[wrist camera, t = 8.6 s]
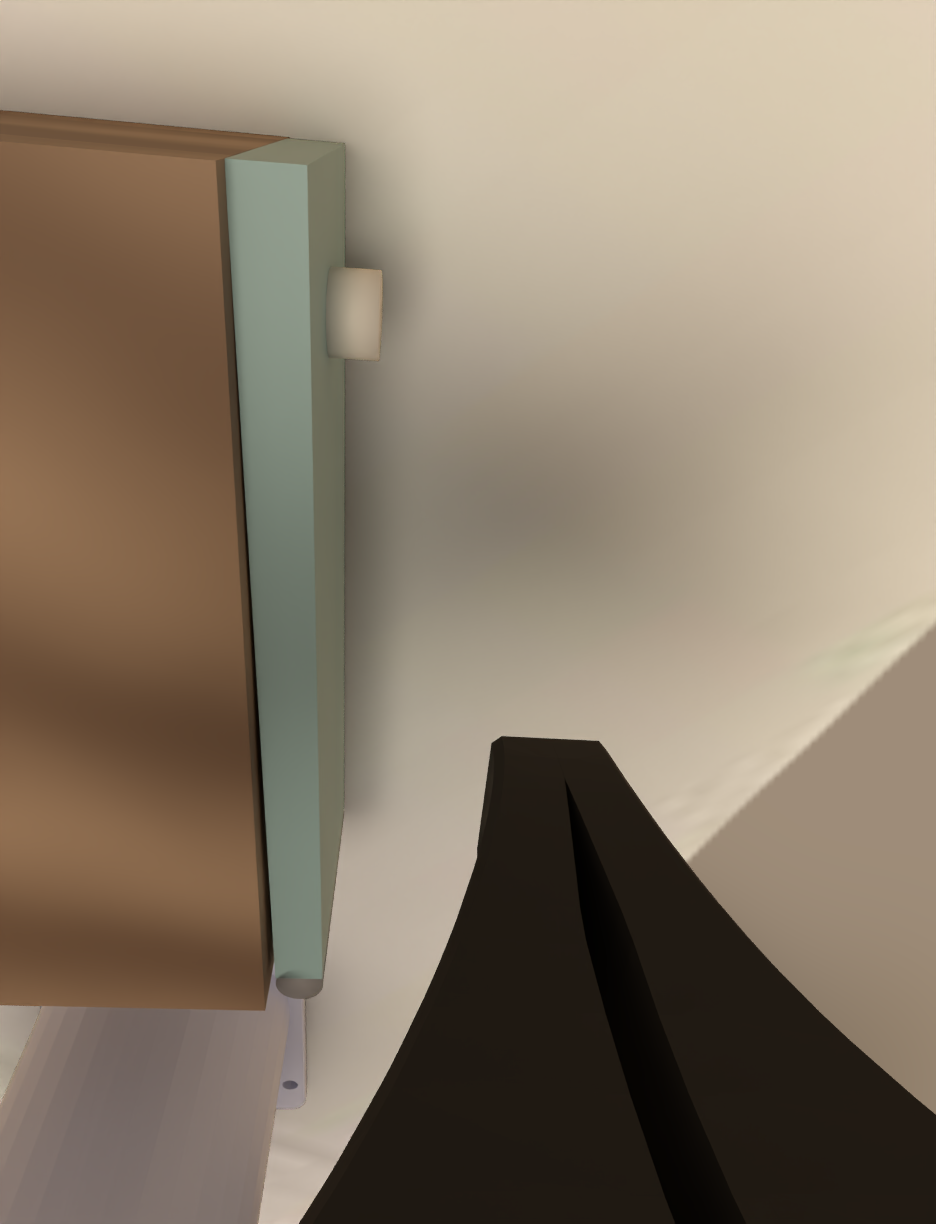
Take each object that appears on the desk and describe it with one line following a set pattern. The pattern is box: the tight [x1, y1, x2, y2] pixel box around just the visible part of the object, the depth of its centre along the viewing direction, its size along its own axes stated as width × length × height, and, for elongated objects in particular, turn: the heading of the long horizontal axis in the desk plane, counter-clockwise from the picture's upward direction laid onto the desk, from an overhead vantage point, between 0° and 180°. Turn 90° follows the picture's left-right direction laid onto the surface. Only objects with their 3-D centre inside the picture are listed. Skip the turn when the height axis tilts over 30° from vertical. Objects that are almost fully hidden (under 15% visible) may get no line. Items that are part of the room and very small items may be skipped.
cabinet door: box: [225, 138, 383, 999], centre depth 17 cm, size 16×2×5 cm, turn 176°
